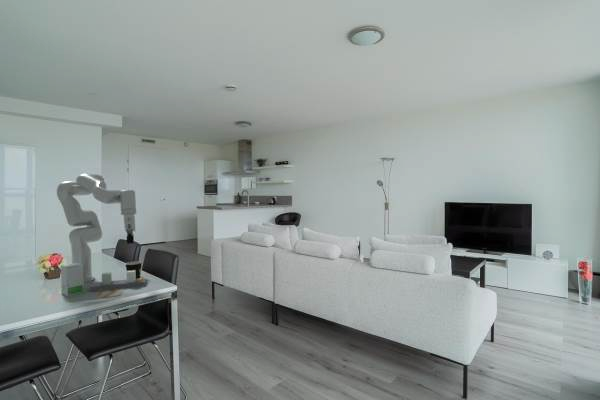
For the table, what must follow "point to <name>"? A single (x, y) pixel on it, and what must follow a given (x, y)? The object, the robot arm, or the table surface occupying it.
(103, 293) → the walnut board
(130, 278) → the white charger
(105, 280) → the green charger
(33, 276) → the table surface
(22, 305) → the table surface
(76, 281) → the skincare box
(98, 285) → the power strip
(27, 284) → the table surface
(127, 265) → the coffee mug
